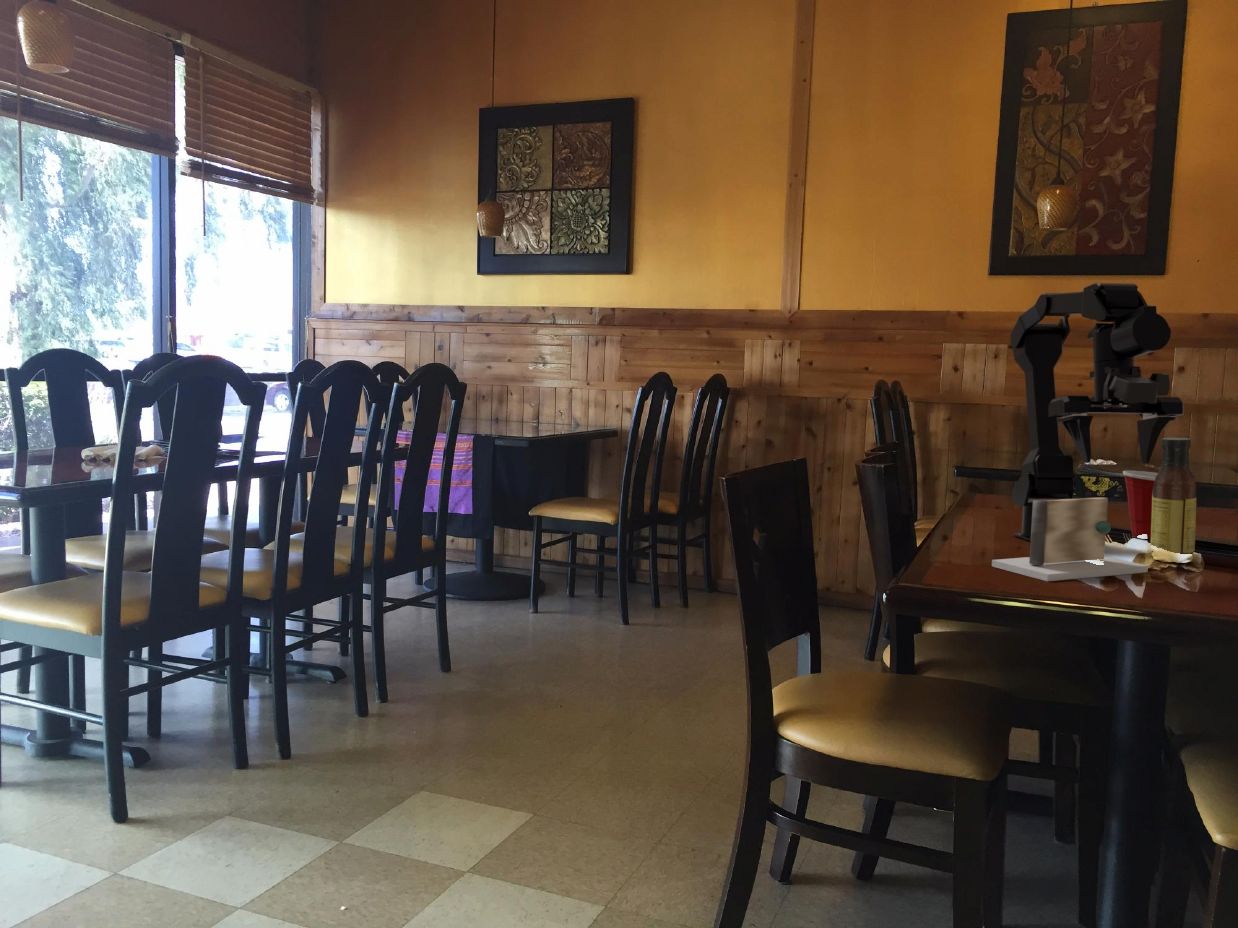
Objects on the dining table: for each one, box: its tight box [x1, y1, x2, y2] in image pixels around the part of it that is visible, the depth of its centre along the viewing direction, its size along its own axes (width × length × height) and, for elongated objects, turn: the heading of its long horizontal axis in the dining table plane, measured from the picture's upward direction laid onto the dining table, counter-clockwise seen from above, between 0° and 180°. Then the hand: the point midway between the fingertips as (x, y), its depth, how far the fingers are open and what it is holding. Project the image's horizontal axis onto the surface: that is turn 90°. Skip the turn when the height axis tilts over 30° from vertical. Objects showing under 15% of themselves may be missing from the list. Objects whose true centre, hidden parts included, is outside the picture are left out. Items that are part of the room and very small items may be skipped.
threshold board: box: [991, 555, 1149, 582], centre depth 150 cm, size 20×11×1 cm, turn 112°
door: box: [1029, 497, 1112, 565], centre depth 149 cm, size 14×4×10 cm, turn 112°
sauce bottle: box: [1150, 437, 1197, 555], centre depth 157 cm, size 7×6×20 cm
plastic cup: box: [1122, 470, 1158, 541], centre depth 179 cm, size 11×11×12 cm
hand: (1116, 463), depth 152 cm, fingers open, 9 cm apart
